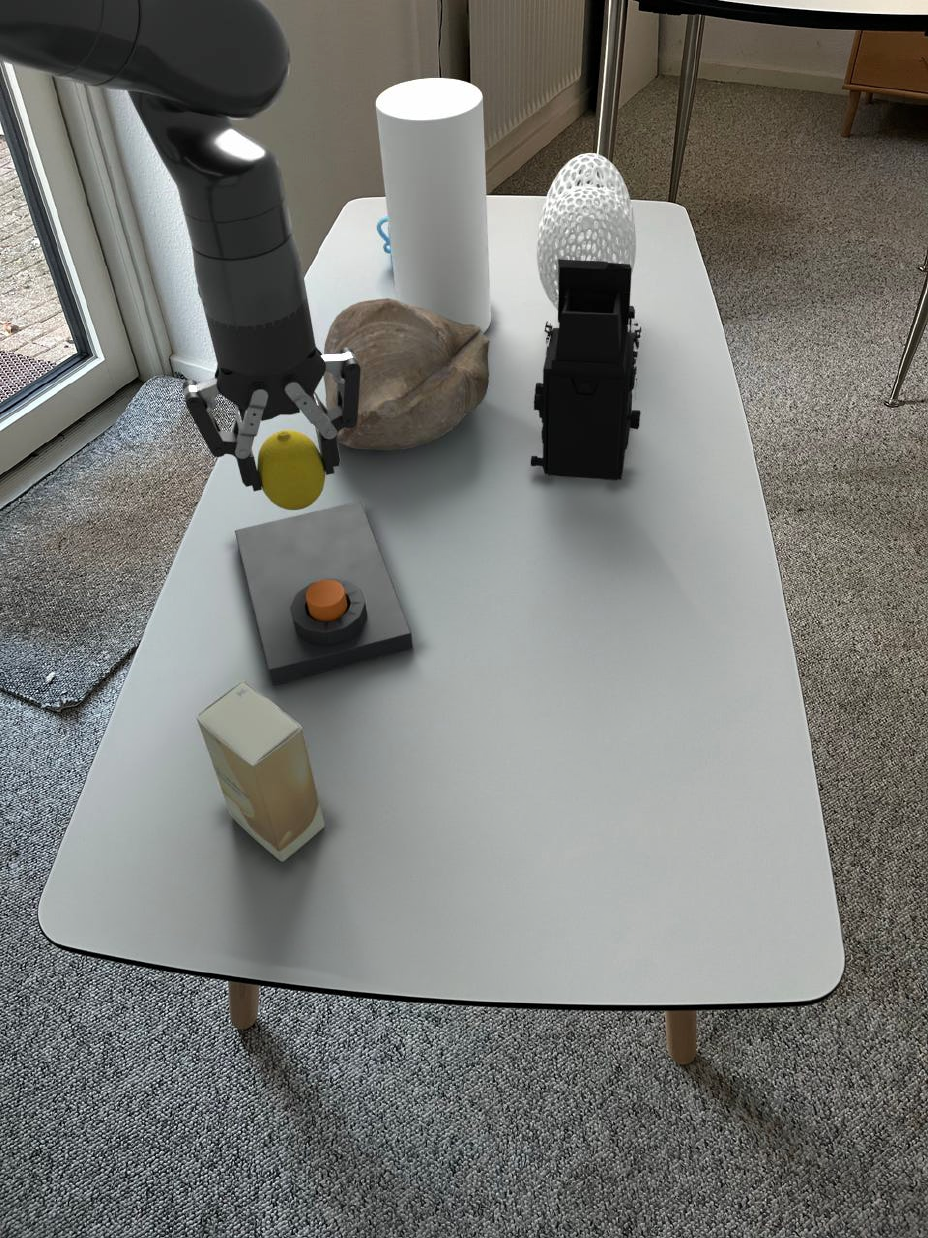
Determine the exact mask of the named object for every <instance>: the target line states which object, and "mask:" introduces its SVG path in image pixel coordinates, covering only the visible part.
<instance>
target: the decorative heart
mask: <svg viewBox="0 0 928 1238" xmlns="http://www.w3.org/2000/svg"><path fill="white" fill-rule="evenodd" d="M597 173H598V174H597ZM588 182H589V183H588ZM578 183H579V184H578ZM598 186H599V187H598ZM577 203H579V204H577ZM587 203H589V204H587ZM592 210H593V211H592ZM599 215H600V216H601V217H599ZM606 216H607V217H606ZM572 224H573V225H574V226H572ZM603 225H605V226H603ZM573 235H574V237H573V238H572V236H573ZM609 235H610V238H609ZM603 241H604V243H603ZM573 246H575V249H574V250H573ZM561 251H562V253H563V255H562V253H561ZM599 252H600V254H599ZM636 253H637V234H636V223H635V215H634V209H633V204H632V201H631V197H630V193H629V191H628V188H627V185H626V182H625V181H624V178H623V177H622V175H621V173H620V172H619V170H618V168H616V166H615V165H614V164H613V163H612V162H611V161H610V160H609V159H608V158H606V157H605V156H603V155H601V154H599V153H594V152H586V153H583V154H582V153H581V154H579V155H577V156H574V157H573V158H571V159H570V160H569V161H568V162H567V163H565V165H563V167H561V169H560V170H559V172H558V173H557V175H556V176H555V178H554V179H553V181H552V183H551V185H550V188H549V189H548V192H547V194H546V197H545V200H544V203H543V208H542V211H541V214H540V219H539V225H538V231H537V241H536V262H537V263H536V264H537V270H538V274H539V279H540V280H539V281H540V284H541V285H542V288H543V291H544V293H545V295H546V296H547V299H548V300H549V302H550V303H551V304H552V306H553V307H554V309H556V310H557V311H558V259H562V260H580V261H605V262H608V263H618V264H630V266H631V268H632V274H633V271H634V267H635V262H636ZM613 255H614V256H615V260H614V258H613ZM555 268H556V269H555ZM632 274H631V276H632ZM555 282H556V283H555Z"/></svg>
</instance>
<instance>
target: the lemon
mask: <svg viewBox="0 0 928 1238" xmlns="http://www.w3.org/2000/svg"><path fill="white" fill-rule="evenodd" d="M256 467H257V471H258V475H259V480H260V484H261V488H262V490H261V491H263V493H264V495H265V496H266V497H267V498H268V499H269V501H270V502H271V503H272V504H274V505H275V506H277V507H279V508H280V509H284V510H287V511H300V510H304V509H306V508H309V507H310V506H312V505H313V504H314V503H315V502H316V501H317V500H318V499H319V498H320V496H321V495H322V492H323V490H324V486H325V482H326V473H325V469H324V464H323V460H322V457H321V454H320V450H319V448H318V446H317V445H316V444H315V442H314V441H313V440H312V439H311V438H310V437H309V436H307V435H306V434H304V433H302V432H299V431H296V430H292V429H285V430H280V431H277V432H275V433H272V434H271V435H270V436H268V437H267V438H266V439H265V440H264V442H263V443H262V444H261V446H260V448H259V450H258V455H257V463H256Z"/></svg>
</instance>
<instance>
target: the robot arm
mask: <svg viewBox="0 0 928 1238" xmlns="http://www.w3.org/2000/svg"><path fill="white" fill-rule="evenodd" d="M0 61H1V62H3V63H6V64H9V65H12V66H15V67H19V68H21V69H24V70H28V71H31V72H34V73H39V74H42V75H46V76H50V77H53V78H57V79H62V80H66V81H69V82H73V83H77V84H80V85H85V86H89V87H93V88H94V87H95V88H99V89H109V90H119V91H127V94H128V96H129V98H130V101H131V103H132V105H133V107H134V109H135V111H136V113H137V114H138V117H139V118H140V121H141V123H142V124H143V126H144V128H145V131H146V132H147V134H148V136H149V138H150V140H151V142H152V144H153V146H154V148H155V150H156V152H157V154H158V156H159V158H160V160H161V162H162V164H163V165H164V167H165V168H166V170H167V172H168V174H169V176H170V177H171V178H172V180H173V182H174V184H175V186H176V189H177V191H178V197H179V200H180V205H181V208H182V211H183V216H184V220H185V224H186V229H187V232H188V236H189V240H190V244H191V251H192V257H193V268H194V275H195V278H196V279H195V280H196V284H197V292H198V295H199V298H200V300H201V304H202V307H203V313H204V315H205V320H206V323H207V328H208V332H209V336H210V339H211V343H212V347H213V352H214V356H215V359H216V369H215V373H214V377H213V378H210V379H207V380H204V381H202V382H199V383H198V382H197V381H195V380H193V379H188V380H185V381H184V382H183V383H182V386H181V387H182V392H183V397H184V402H185V406H186V408H187V410H188V412H189V413H190V415H191V418H192V420H193V422H194V423H195V425H196V427H197V429H198V432H199V433H200V435H201V436H202V439H203V440H204V442H205V444H206V446H207V448H208V450H209V451H210V453H211V455H212V456H213V457H215V458H221V457H224V456H225V455H230V456H233V457H234V458H235V459H236V463H237V467H238V470H239V474H240V478H241V482H242V484H243V485H244V486H245V487H246V488H248V487H252V490H253V492H259V491H263V490H262V487H261V484H260V480H259V475H258V471H257V463H256V459H255V455H254V452H253V444H254V440H255V437H257V436H258V434H259V429H260V425H261V422H264V421H268V420H273V419H274V418H276V417H278V416H284V415H285V416H287V415H289V416H291V415H292V416H293V415H296V414H301V413H302V414H303V416H304V417H305V418H306V419H307V421H308V422H309V423H310V424H311V425H313V426H314V427H315V434H316V439H317V444H318V450H319V452H320V454H321V457H322V460H323V464H324V469H325V476H328V475H333V474H335V473H336V472H335V468H337V467H339V466H340V464H341V455H340V451H339V444H338V443H339V442H338V441H337V433H338V432H339V431H340V430H341V429H343V428H345V427H346V428H353V427H355V426H356V424H357V420H358V404H359V388H360V373H361V368H360V366H359V363H358V361H357V358H356V356H355V354H354V352H353V350H352V349H351V348H348V347H346V348H343V349H341V350H340V352H339V354H332V355H324V354H323V353H322V351H321V350H320V349H319V348H318V347H317V346H316V345H317V344H316V340H315V333H314V328H313V321H312V316H311V310H310V305H309V299H308V293H307V289H306V282H305V276H304V270H303V265H302V260H301V255H300V252H299V248H298V246H297V242H296V240H295V237H294V232H293V228H292V222H291V215H290V210H289V205H288V199H287V192H286V189H285V183H284V178H283V173H282V169H281V165H280V161H279V160H278V157H277V156H276V154H275V153H274V151H272V150H271V149H270V148H269V147H268V146H267V145H265V144H264V143H262V142H261V141H259V140H257V139H255V138H254V137H251V136H250V135H248V134H247V133H244V132H243V131H241V129H238V127H237V126H236V125H234V123H232V121H247V120H252V119H255V118H257V117H259V116H261V115H263V114H265V113H266V112H268V111H269V110H270V109H271V108H272V107H273V106H274V105H275V104H277V102H278V100H279V99H281V96H282V95H283V93H284V91H285V89H286V86H287V84H288V80H289V77H290V72H291V71H290V70H291V55H290V47H289V43H288V39H287V36H286V33H285V31H284V29H283V26H282V25H281V23H280V20H278V18H277V16H276V15H275V14H274V12H273V11H272V10H271V8H269V6H268V5H266V3H265V2H263V0H0ZM325 371H328V372H330V373H331V375H332V377H333V380H334V381H335V382H336V383H337V405H336V407H334V408H333V409H331V410H329V411H328V410H327V406H326V405H324V403H323V402H322V401H321V400H320V398H319V395H318V394H317V393H316V389H317V388H318V386H319V384H320V383H321V380H322V379H323V378H324V377H323V375H324V373H325ZM219 395H221V396H223V397H224V398H225V399H226V400H228V401H229V402H231V403H232V404H233V405H234V406H235V409H234V420H233V424H232V428H231V431H225V430H224V431H223V430H222V429H221V427H220V425H219V423H218V421H217V419H216V417H215V415H214V413H213V411H214V410H215V409H216V407H217V401H216V398H217V396H219Z"/></svg>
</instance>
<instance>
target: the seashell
mask: <svg viewBox="0 0 928 1238" xmlns="http://www.w3.org/2000/svg"><path fill="white" fill-rule="evenodd" d="M323 347H324V348H323V355H332V354H339V352H340V350H341V349H343V348H346V347H348V348H351V349H352V350H353V352H354V354H355V356H356V358H357V361H358V363H359V366H360V368H361V373H360V388H359V404H358V420H357V424H356V426H355V427H353V428H346V427H345V428H343V429H341V430H340V431H339V432H338V433H337V442H338V443H341V444H343V445H345V446H346V447H348V448H351V449H356V450H375V451H395V450H405V449H411V448H415V447H419V446H422V445H426V444H427V443H430V442H433V441H435V440H437V439H438V438H439V439H440V438H441V437H442V436H444V435H446V434H447V433H449V432H450V431H451V430H452V429H454V428H455V427H456V426H457V425H458V424H459V423H460V422H461V421H462V420H463V419H464V418H465V416H466V415H468V414H469V413H472V412H473V411H474V410H475V409H477V408H478V407H479V406H481V404H482V402H483V401H484V399H485V398H486V395H487V393H488V390H489V386H490V385H489V384H490V369H489V347H490V339H489V338H488V337H486V335H485V334H484V333H483V332H482V331H481V330H480V327H479V326H476V325H473V324H470V325H464V324H460V323H457V322H454V321H451V320H449V319H446V318H444V317H442V316H439V315H437V314H435V313H433V312H431V311H429V310H426V309H422V308H418V307H412V306H409V305H407V304H404V303H402V302H400V301H397V299H394V298H388V297H387V298H378V299H377V298H376V299H370V300H363V301H359V302H356V303H353V304H351V305H350V306H348V307H346V308H345V309H342V311H340V312H339V313H338V314H337V315H336V317H335V319H334V320H333V321H332V323H331V325H330V326H329V328H328V333H327V336H326V338H325V342H324V346H323ZM322 378H323V383H324V388H325V389H324V390H325V406H326V409H327V410H328V411H329V410H331V409H333V408H334V407H336V405H337V383H336V382H335V381H334V380H333V377H332V375H331V373H330V372H328V371H325V373H324V375H323V377H322Z"/></svg>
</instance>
